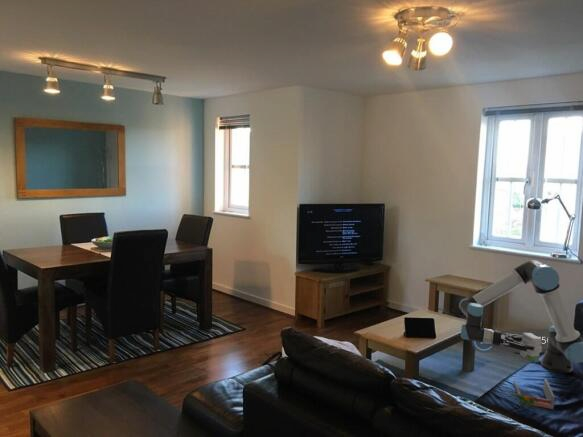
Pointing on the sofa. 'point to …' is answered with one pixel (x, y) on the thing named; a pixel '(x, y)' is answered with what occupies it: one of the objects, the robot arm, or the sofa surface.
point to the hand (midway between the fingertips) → (540, 346)
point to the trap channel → (541, 402)
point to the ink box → (532, 340)
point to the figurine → (525, 399)
